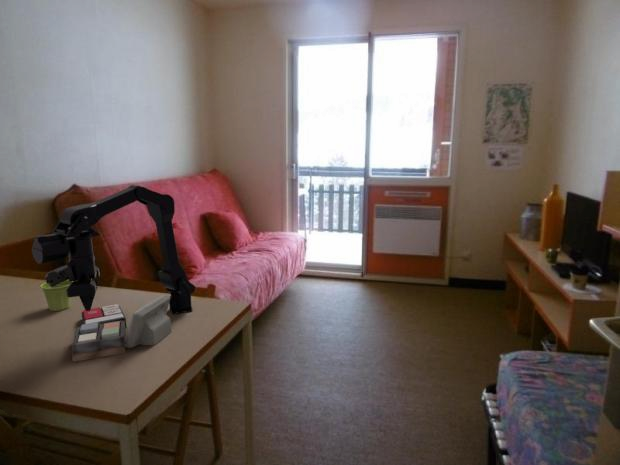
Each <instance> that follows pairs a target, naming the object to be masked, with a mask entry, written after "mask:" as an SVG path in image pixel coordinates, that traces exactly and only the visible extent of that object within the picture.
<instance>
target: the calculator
mask: <svg viewBox="0 0 620 465" xmlns="http://www.w3.org/2000/svg"><path fill="white" fill-rule="evenodd" d="M81 318H82V325H83V324H90V323H97V322H98V324H102V323H109V322H116V321H122V320H125V327H126V329H128V328H127V318H126V316H125V313H124V312H123V309H122V307H121V305H119V304H118V303H117V304H116V303H115V304H111V305H106V306H101V307H94V308H93V307H92V308H91V310H90V311H86V310H85V309H84V310H82V312H81Z"/></svg>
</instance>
